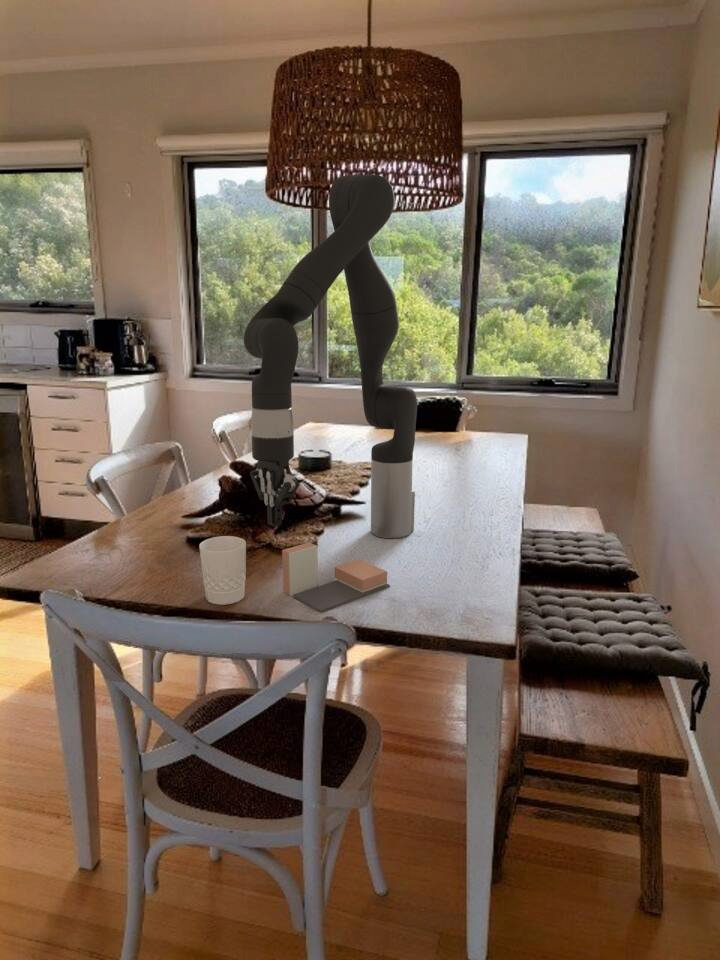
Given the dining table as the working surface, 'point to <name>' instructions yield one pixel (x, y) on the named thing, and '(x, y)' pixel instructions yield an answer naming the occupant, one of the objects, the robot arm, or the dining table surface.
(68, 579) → the dining table surface
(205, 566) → the white cup
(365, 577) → the tile
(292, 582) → the tile
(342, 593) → the mat
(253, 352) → the robot arm
